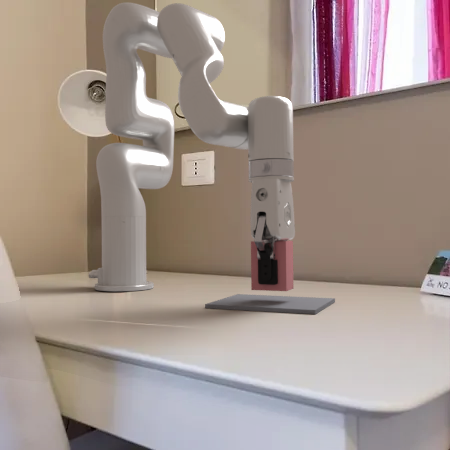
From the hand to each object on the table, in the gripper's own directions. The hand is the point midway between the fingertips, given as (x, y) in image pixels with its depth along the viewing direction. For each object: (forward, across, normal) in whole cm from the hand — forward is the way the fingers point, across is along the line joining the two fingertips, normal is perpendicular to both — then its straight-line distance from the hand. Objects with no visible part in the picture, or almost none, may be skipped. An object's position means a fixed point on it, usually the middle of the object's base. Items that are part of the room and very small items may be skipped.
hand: (272, 281), depth 88 cm
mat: (+4, 0, 0) cm, 4 cm away
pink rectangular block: (+1, 0, 0) cm, 1 cm away
